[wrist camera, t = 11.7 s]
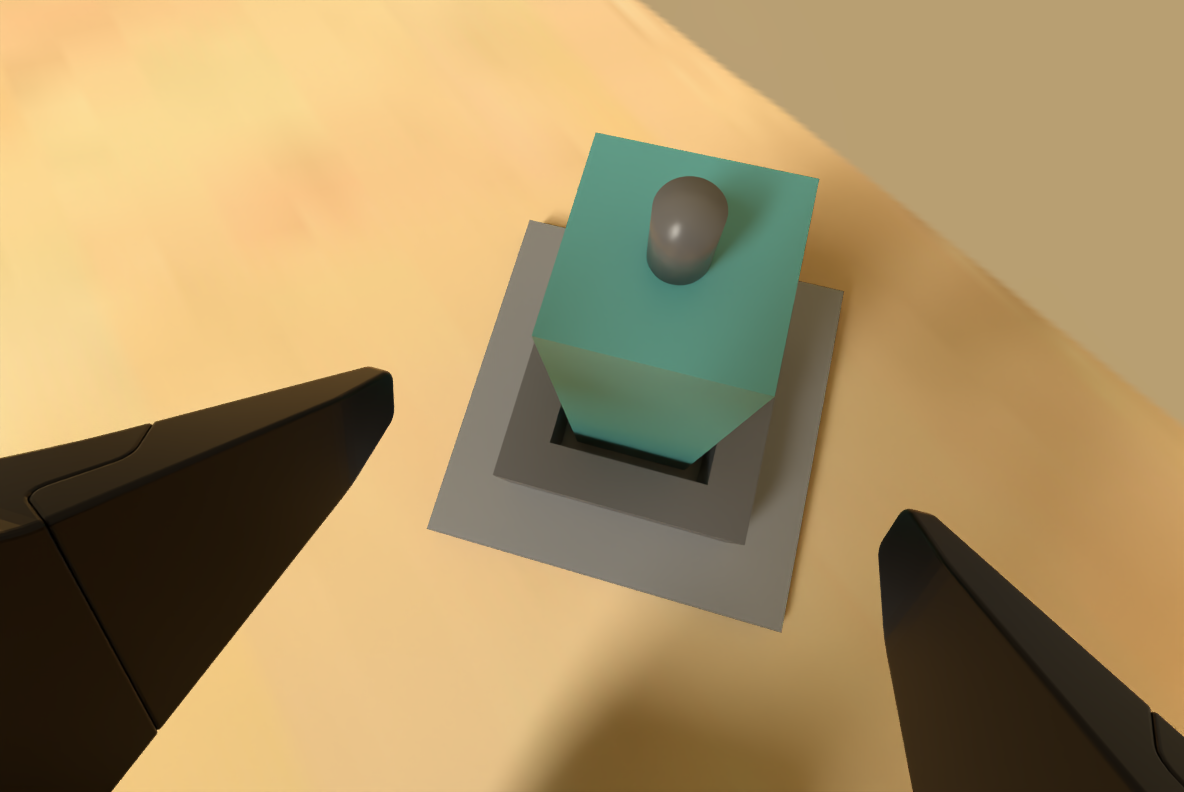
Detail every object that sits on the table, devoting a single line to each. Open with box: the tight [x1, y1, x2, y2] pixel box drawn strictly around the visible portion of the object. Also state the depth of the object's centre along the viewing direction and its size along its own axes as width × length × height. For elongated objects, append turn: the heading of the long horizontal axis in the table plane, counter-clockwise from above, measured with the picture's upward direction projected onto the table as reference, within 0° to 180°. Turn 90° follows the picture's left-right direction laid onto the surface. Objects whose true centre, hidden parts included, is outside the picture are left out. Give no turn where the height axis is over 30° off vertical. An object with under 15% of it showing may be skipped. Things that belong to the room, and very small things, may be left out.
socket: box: [427, 220, 844, 632], centre depth 21 cm, size 14×14×4 cm
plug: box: [532, 133, 819, 470], centre depth 15 cm, size 4×4×14 cm
